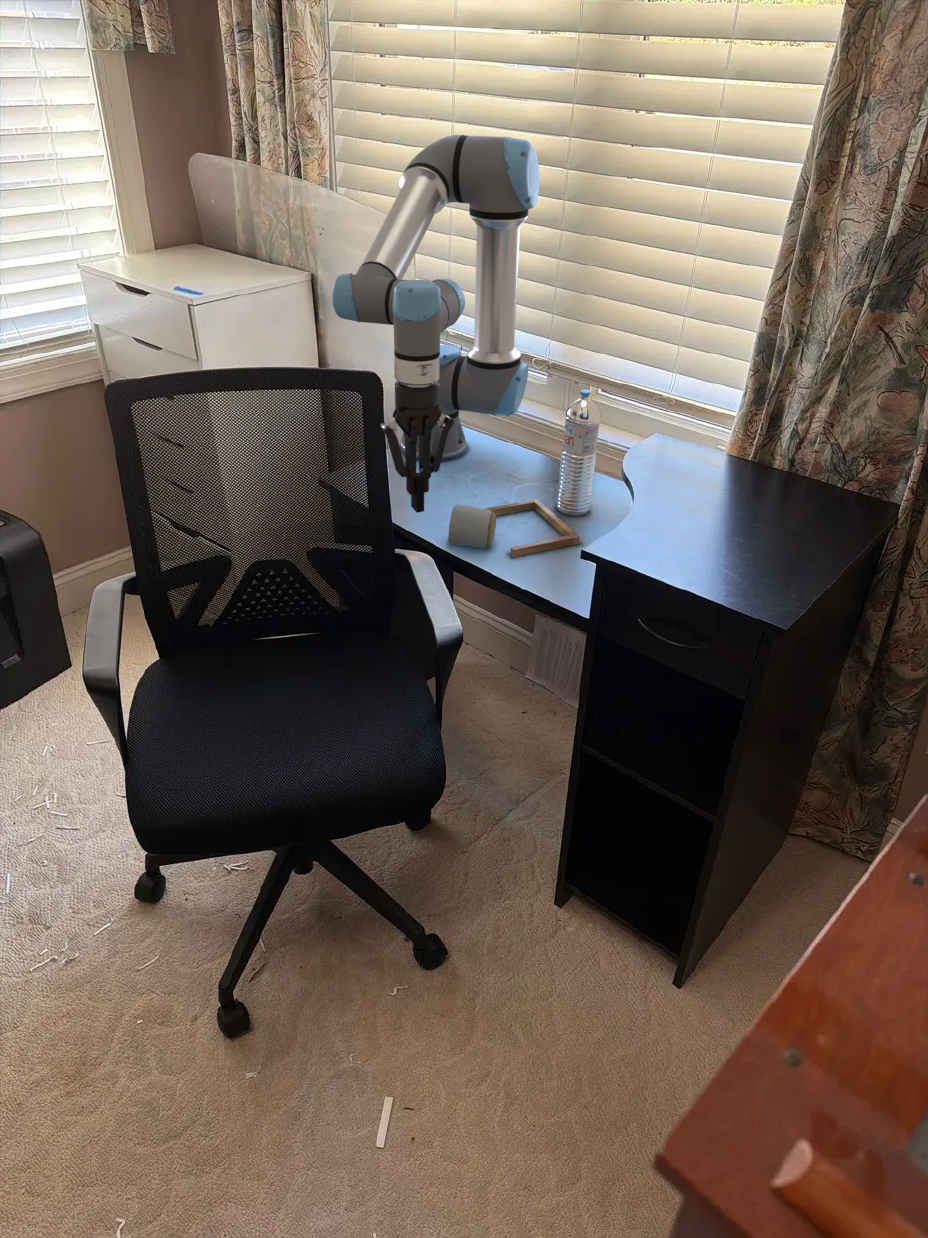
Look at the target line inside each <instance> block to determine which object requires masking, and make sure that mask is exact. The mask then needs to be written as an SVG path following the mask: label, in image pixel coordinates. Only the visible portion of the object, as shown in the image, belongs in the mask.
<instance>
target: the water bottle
mask: <svg viewBox="0 0 928 1238" xmlns="http://www.w3.org/2000/svg"><path fill="white" fill-rule="evenodd" d="M579 394H580V395H579V398H578V399H576V400H574V401H573V402H571V403H570V404H569V406H568V407H567V408H566V410H565V415H564V431H563V440H562V443H563V444H562V448H561V454H560V465H559V477H558V487H557V497H556V508H557V510H558V511H559V512H560V513H561V514H564V515H566V516H571V517H579V516H583V515H586V514H587V513H588V512H589V511H590V507H591V501H592V493H593V484H594V482H593V481H594V476H595V466H596V460H597V445H598V438H599V437H598V436H599V431H600V429H599V428H600V422H601V420H602V419H601V418H602V412H601V410H600V408H599V407H598V405H597V404H596V403H595V402H594V401H593V400H592V399H591V398H590V396H591V391H590V390H589V389H581V390H580V393H579Z"/></svg>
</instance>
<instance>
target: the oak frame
mask: <svg viewBox="0 0 928 1238" xmlns="http://www.w3.org/2000/svg"><path fill="white" fill-rule="evenodd" d="M483 509H486V510H490V511H492V512H494V513H495V514H496V517H499V516H505V515H508V514H514V513H515V514H516V513H519V512H520V513H521V512H526V511H529V510H530V511H531V510H535V511H536V513H538V514H539V515H540V516H541V517H542V518H544V519H545V520H546V521H547V523H549V524H550V525H551V526H552V527H553V528H554V529H555V530H557V532H558V533H560V534H561V535H562V536H559V537H554V538H549V539H544V540H539V541H535V542H534V541H533V542H529V543H525V544H519V545H514V546H510V550H509V551H510V552H509V555H510V556H511V557H512V558H516V557H521V556H527V555H531V554H536V553H540V552H546V551H551V550H555V549H560V548H565V547H570V546H574V545H575V546H576V545H579V544H580V535H579V534H577V533H576V532H575V531H574V530H573V529H572V528H571V527H570V526H568V524H566V523H565V522H564V521H563V520H561V519H560V517H558V516H557V515H556V514H555V513H554V512H553V511H551V509H549V508H548V507H547V506H546V505H545V504H544V503H542V501H540V500H539V499H538V498H533V499H528V500H524V501H523V500H522V501H518V502H517V501H516V502H511V503H507V504H501V505H495V506H491V507H483Z"/></svg>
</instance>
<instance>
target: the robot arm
mask: <svg viewBox="0 0 928 1238" xmlns="http://www.w3.org/2000/svg"><path fill="white" fill-rule="evenodd" d="M398 190H399V192H398V194H397V196H396V198H395V199H394V202H393V203H392V205H391V207H390V209H389V210H388V213H387V215H386V217H385V219H384V220H383V222H382V225H381V227H380V228H379V230H378V231H377V233H376V236H375V238H374V239H373V241H372V244H371V245H370V247H369V249H368V251H367V253H366V255H365V257H363V258H364V259H363V260H362V262H361V264H360V266H359V267H358V269H357V271H356V273H355V274H353V273H352V272H349V273H342V274H340V275H338V276H337V277H336V278H335V279H334V283H333V286H332V291H331V303H332V306H333V310H334V313H335V314H336V315H337V316H338V317H339V318H340V319H342V320H347V321H353V322H356V323H367V324H377V325H387V326H393V346H394V347H393V358H394V359H393V361H394V363H393V365H394V371H393V372H394V373H393V375H394V376H393V377H394V379H395V382H394V404H395V405H394V410H393V412H392V418H391V419H389V421H387V422H381V423H380V426H379V428H380V429H381V431H382V432H383V433H384V434H385V436H386V440H387V443H388V447H389V451H390V455H391V458H392V462H393V466H394V469H395V471H396V473H397V474H398V475H399V476H400V477H401V478H405V483H406V484H405V485H406V486H405V487H406V488H405V489H406V492H407V493H408V494H409V496H410V498H411V499H410V507H411V508H412V510H413V511H414V512H415V513H424V512H425V493H429V490H430V479H431V478H432V476H433V475H432V474H433V473H438V472H439V471H440V468H441V464H442V461H449V460H452V459H456V458H458V457H460V456H462V455H463V454H464V453H465V452H466V450H467V440H466V435H465V432H464V429H463V426H462V423H461V420H460V411H463V412H471V413H476V414H483V415H491V416H494V417H497V416H501V417H512V416H514V415H515V414H516V413H517V412H518V410H519V408H520V406H521V404H522V401H523V399H524V395H525V391H526V387H527V384H528V378H529V365H528V364H527V363H525V362H521V358H522V357H521V356H522V355H521V351H520V350H519V348H517V347H516V346H515V339H516V338H515V337H516V318H517V317H516V316H517V315H516V314H517V294H518V277H519V276H518V275H519V273H518V272H519V257H520V256H519V254H520V253H519V252H520V234H521V226H522V224H523V223H524V222H525V221H526V220H527V218H528V217H529V210H531V209H534V208H535V207H536V206H537V204H538V200H539V191H540V166H539V160H538V156H537V152H536V149H535V147H534V145H533V143H532V142H530V141H529V140H527V139H524V138H523V139H522V138H516V137H511V136H496V135H495V136H494V135H493V136H491V135H465V134H453V135H452V134H451V135H447V136H444V137H442V138H439V139H437V140H435V141H434V142H432V143H430V144H428V145H427V146H426V147H425V148H423V149H422V150H421V151H419V152H418V154H417V155H415V157H413V158H412V160H410V162H409V163H408V164H407V165H406V167H405V169H404V171H403V172H402V174H401V177H400V179H399V185H398ZM450 203H451V204H452V203H459V204H468V206H469V208H468V211H469V212H468V213H469V218H471V219H472V221H473V222H474V223H475V225H476V241H475V242H476V245H475V247H476V249H475V289H474V290H475V291H474V293H475V296H474V305H475V306H474V336H473V337H474V341H473V345H472V346H471V347H469V348H468V350H467V352H466V356H463V355H462V351H461V349H460V348H459V346H455V345H453V344H441V334H442V333H443V332H444V331H445V330H446V329H448V328H449V327H451V326H453V325H454V324H456V322H457V321H458V319H459V318H460V317H461V316H462V314H463V313H464V310H465V306H466V297H465V294H464V291H463V289H462V288H461V287H460V285H459V284H458V283H457V282H455V281H454V280H452V279H451V278H450V279H449V278H444V277H443V278H436V279H433V280H426V279H404V277H405V275H406V273H407V271H408V269H409V267H410V265H411V263H412V260H413V259H414V256H415V254H416V253H417V251H418V249H419V246H420V245H421V243H422V241H423V239H424V237H425V235H426V232H427V230H428V229H429V227H430V224H431V222H432V220H433V218H434V216H435V215H437V214H438V213H440V212H441V211H442V210H443V209H444V208H445V206H446V205H447V204H450ZM397 426H398V427H399V428H400V429H401V431H402V435H401V439H400V442H399V439H398V437H397V435H396V434H397V433H398V428H397ZM402 453H404V457H403V454H402ZM417 460H418V471H419V472H417Z"/></svg>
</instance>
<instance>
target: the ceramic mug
mask: <svg viewBox="0 0 928 1238" xmlns="http://www.w3.org/2000/svg"><path fill="white" fill-rule="evenodd" d="M450 514H451V515H450V517H449V518H450V519H449V525H448V543H449V544H450V545H454V546H463V547H472V548H481V549H485V548H487V549H489V548H490V547H491V546H492V545H493V542H494V539H495V534H496V527H497V516H496V514H495V513H494V512H492V511H490V510H486V509H484V508H481V507H476V506H470V505H465V504H459V503H455V504H454V505H453V508H452V510H451V513H450Z"/></svg>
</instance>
